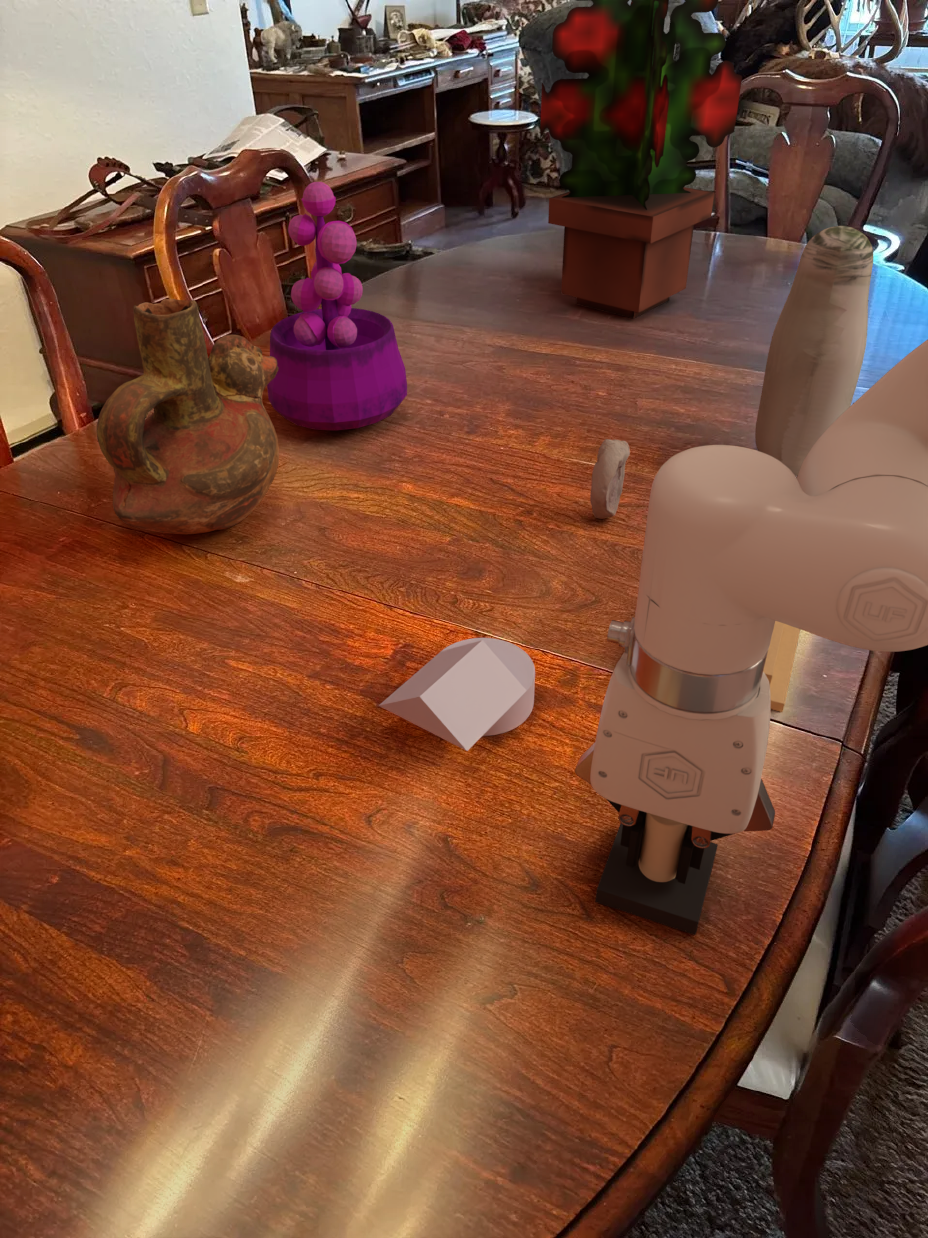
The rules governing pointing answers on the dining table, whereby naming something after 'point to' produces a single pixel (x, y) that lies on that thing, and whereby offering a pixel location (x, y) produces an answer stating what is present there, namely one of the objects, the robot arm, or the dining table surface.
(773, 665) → the base pad
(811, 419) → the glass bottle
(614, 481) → the fossil
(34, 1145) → the dining table surface
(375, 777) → the dining table surface
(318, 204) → the decorative plant
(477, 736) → the wedge on round base
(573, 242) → the potted plant
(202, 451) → the ceramic vessel
